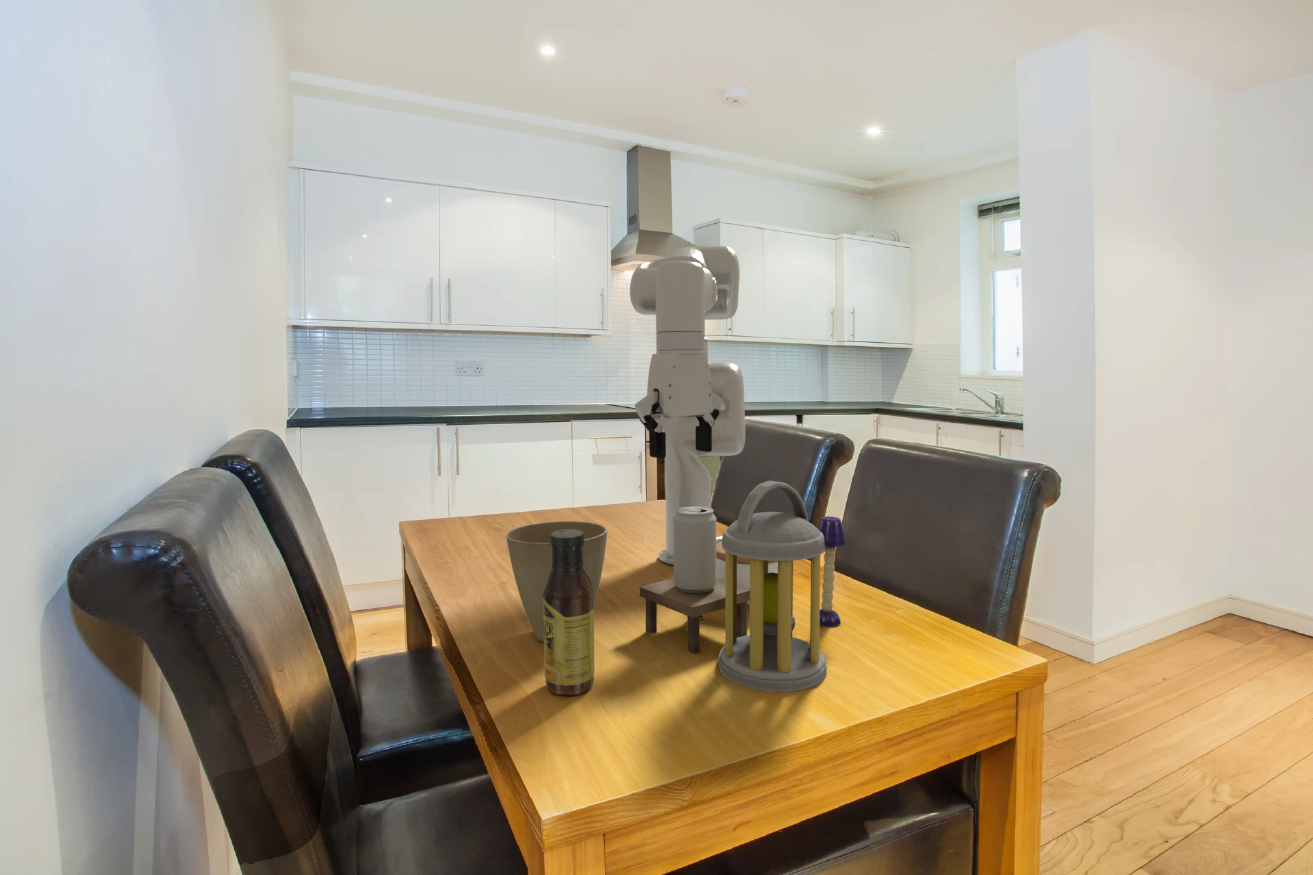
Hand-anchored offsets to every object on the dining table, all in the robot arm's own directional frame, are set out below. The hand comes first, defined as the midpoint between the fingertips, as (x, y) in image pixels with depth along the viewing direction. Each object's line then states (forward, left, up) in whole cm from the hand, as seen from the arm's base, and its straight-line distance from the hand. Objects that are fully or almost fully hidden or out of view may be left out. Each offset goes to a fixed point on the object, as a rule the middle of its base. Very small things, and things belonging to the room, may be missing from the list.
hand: (681, 454), depth 106 cm
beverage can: (+3, +6, -20) cm, 21 cm away
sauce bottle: (+27, +9, -27) cm, 39 cm away
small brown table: (+3, +6, -27) cm, 27 cm away
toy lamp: (-16, +16, -27) cm, 35 cm away
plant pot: (+19, -7, -27) cm, 33 cm away
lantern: (+3, +22, -27) cm, 34 cm away
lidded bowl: (-15, 0, -27) cm, 31 cm away
